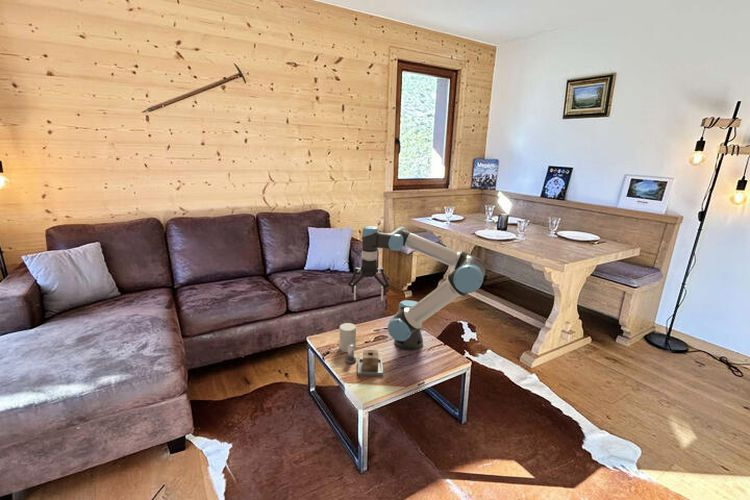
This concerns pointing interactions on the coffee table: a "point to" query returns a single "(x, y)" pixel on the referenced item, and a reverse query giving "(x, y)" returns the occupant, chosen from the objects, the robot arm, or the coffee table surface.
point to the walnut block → (370, 360)
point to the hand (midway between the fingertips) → (368, 299)
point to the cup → (347, 336)
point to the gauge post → (350, 354)
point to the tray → (361, 373)
